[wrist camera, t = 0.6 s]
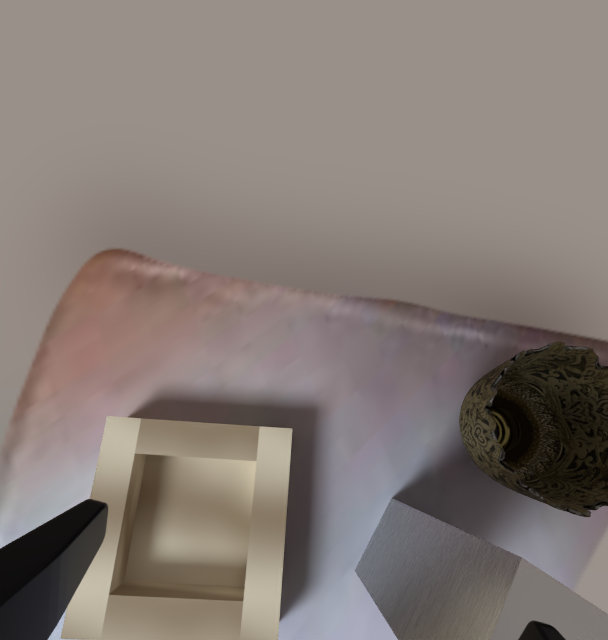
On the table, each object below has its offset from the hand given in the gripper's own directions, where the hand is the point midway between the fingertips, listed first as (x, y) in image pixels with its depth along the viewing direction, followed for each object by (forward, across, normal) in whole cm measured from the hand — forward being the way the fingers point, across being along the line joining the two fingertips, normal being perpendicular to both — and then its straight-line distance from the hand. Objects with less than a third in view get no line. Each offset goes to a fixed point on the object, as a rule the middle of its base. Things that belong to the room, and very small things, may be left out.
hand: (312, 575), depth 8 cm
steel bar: (+12, -7, +11) cm, 17 cm away
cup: (+17, -11, +4) cm, 20 cm away
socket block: (+12, +5, +12) cm, 17 cm away
